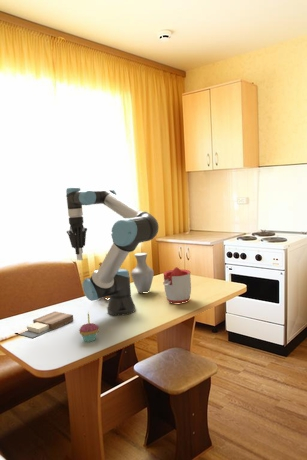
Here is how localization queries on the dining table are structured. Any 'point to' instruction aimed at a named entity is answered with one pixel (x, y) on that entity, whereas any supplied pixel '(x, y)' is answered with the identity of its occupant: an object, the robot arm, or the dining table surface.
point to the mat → (33, 333)
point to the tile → (38, 327)
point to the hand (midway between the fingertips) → (79, 259)
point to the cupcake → (89, 331)
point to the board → (55, 319)
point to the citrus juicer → (177, 285)
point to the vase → (142, 274)
